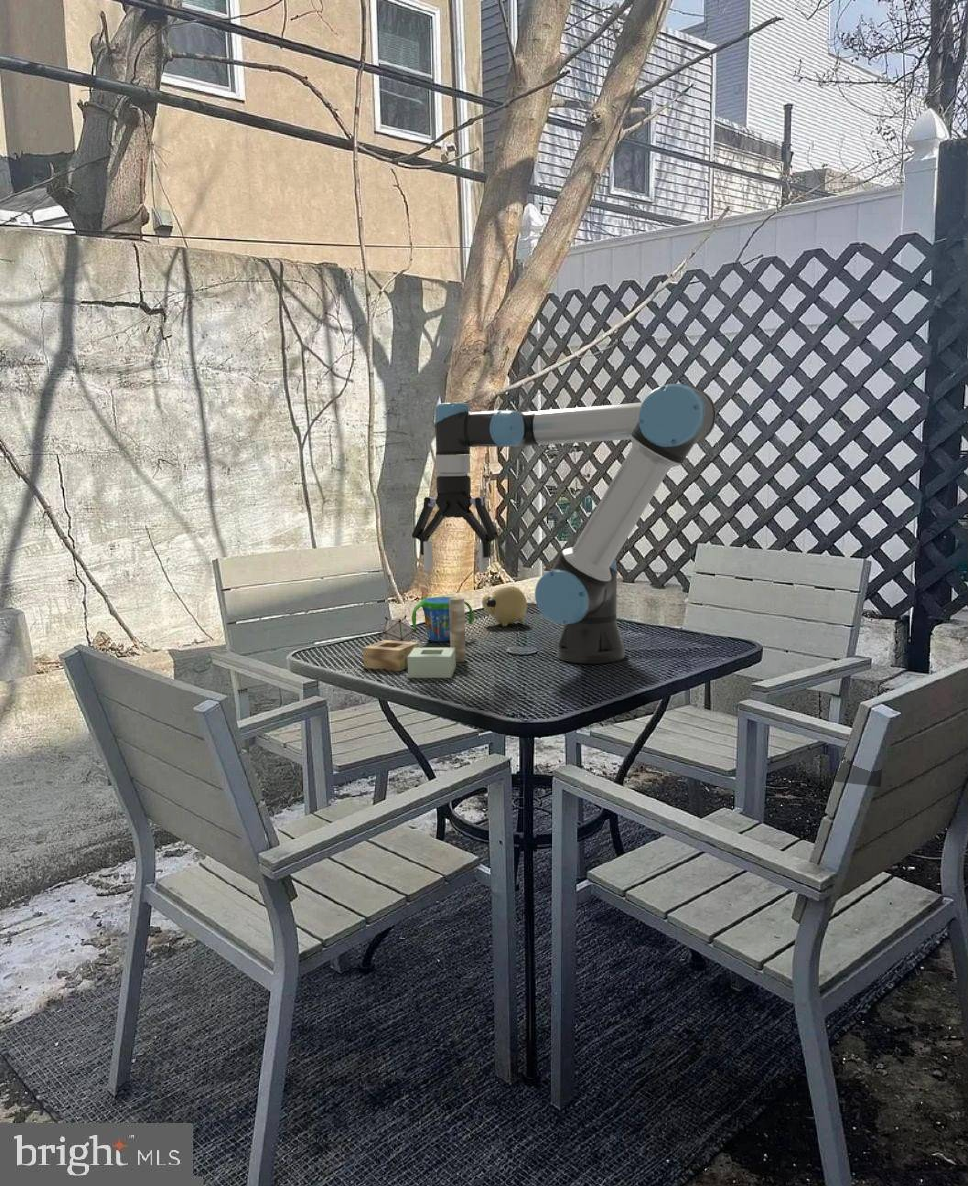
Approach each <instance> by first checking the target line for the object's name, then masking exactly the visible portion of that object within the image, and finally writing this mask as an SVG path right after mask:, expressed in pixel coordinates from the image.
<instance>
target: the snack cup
mask: <svg viewBox="0 0 968 1186" xmlns="http://www.w3.org/2000/svg"><path fill="white" fill-rule="evenodd" d="M451 598H457V597H456V596H454V597H453V596H434V597H427V598H423V599H421V601H420V602H418V603H417V604H416V606H415V607H414V609H413V610H412V614H411V623H412V628H413V629H418V626H417V611H418V610H419V609H420V608H421V607H422V611H423V616H424V623H425V626H426V634H427V639H428V641H433V642H442V643H443V642H450V615H449V599H451ZM464 605H466V607H468V610H469V614H468V615H469V616H468V624H469V625H473V622H474V612H473V608H472V606H471V605H470V603H468V602H467V601H465V600H464Z"/></svg>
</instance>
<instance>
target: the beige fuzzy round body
mask: <svg viewBox="0 0 968 1186" xmlns="http://www.w3.org/2000/svg"><path fill="white" fill-rule="evenodd" d="M481 601H482V602H481V603H482V608H483V609H484V611H486V612H487V614H489V615H490V616H491V617H492V619H493V620H494V621H496V622H497V623H499V624H501V626H502V627H504V626H506V627H507V626H508V625H510V624H514V623H517V622H518V621H519V622H524V621H525V614H526V613H527V609H528V602H527V598H526V595H525V594H524V592H523V591H522V590H521V589H520V588H518V587H516V586H513V585H505V586H502V587H500V588H498V589H496V590H494V592H492V593H488V594H487V595H485V596H484V597H483V598H482V599H481Z"/></svg>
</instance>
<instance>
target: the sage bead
mask: <svg viewBox="0 0 968 1186" xmlns="http://www.w3.org/2000/svg"><path fill="white" fill-rule="evenodd" d="M456 664H457V662H456V659H455V648H450V647H419V648H414V649H413V650H412V651H411V653H410V654H409V655H408V667H407V674H408V675H407V678H408V679H409V678H410V679H414V678H415V679H416V678H417V679H428V678H429V679H431V678H433V679H434V678H435V679H439V678H440V679H442V678H443V679H444V678H445V679H447V678H448V679H451V678H452V677H453V674H454V672H455V670H456V667H457V665H456Z"/></svg>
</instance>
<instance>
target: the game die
mask: <svg viewBox="0 0 968 1186" xmlns="http://www.w3.org/2000/svg"><path fill="white" fill-rule="evenodd" d="M407 617H408V616H407V614H405V615H404V617H398V618H388V617H387V616H384V619H385V620H386V621H385V623H384V627H383V630H382V632H381V634H379V635H378V638H382V639H383V640H393V641H406V642H412V641H411V640H412V638H413V635H414V632H416V631H418V628H416V629H415V628H414V627H413V626H412V625H411V624H410V623H409V622H408V620H407V619H406V618H407Z"/></svg>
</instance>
